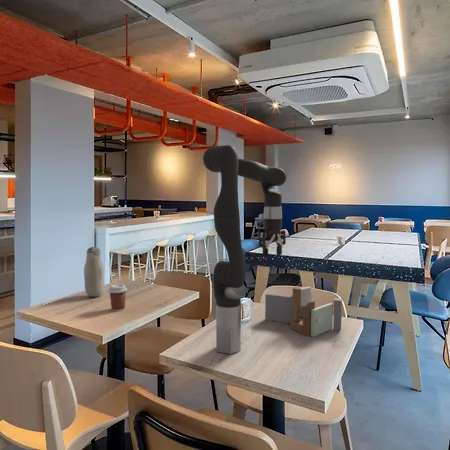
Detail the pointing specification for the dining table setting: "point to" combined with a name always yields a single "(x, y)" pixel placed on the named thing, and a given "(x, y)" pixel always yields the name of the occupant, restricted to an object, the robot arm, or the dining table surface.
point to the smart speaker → (306, 296)
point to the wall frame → (282, 309)
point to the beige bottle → (94, 272)
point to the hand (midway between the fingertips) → (272, 256)
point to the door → (321, 319)
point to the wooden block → (301, 314)
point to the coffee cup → (117, 297)
